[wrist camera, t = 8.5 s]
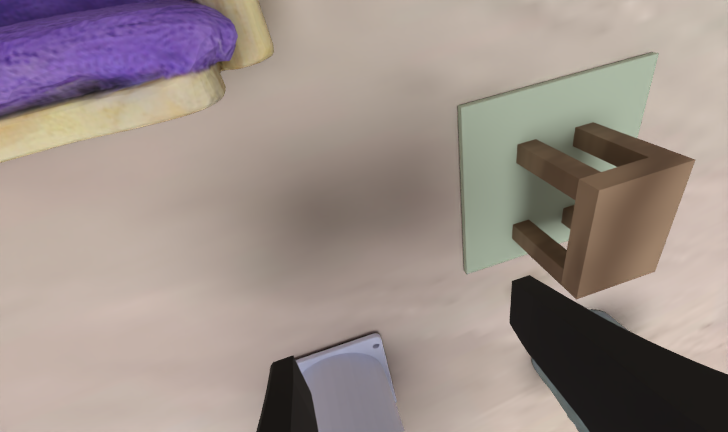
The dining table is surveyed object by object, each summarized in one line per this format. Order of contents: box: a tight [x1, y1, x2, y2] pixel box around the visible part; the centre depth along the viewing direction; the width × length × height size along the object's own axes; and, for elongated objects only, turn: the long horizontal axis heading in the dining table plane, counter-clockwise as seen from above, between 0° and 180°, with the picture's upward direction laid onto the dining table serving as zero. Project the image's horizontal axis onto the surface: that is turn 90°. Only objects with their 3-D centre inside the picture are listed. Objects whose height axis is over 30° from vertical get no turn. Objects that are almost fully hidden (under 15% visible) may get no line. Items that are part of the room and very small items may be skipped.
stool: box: [512, 122, 695, 299], centre depth 21 cm, size 5×7×6 cm
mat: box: [458, 52, 659, 274], centre depth 23 cm, size 12×12×1 cm
